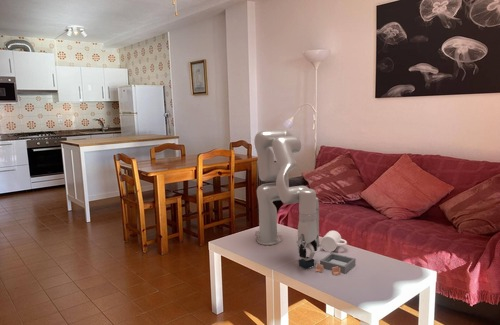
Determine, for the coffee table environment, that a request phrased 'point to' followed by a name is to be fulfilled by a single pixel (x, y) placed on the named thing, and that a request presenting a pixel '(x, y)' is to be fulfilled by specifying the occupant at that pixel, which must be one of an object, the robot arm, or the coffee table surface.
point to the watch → (307, 258)
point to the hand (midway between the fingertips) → (308, 253)
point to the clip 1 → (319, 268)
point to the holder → (338, 262)
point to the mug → (332, 241)
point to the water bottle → (317, 219)
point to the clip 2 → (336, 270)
